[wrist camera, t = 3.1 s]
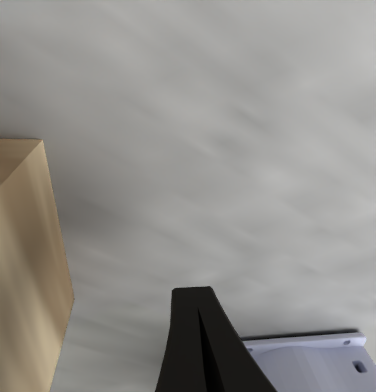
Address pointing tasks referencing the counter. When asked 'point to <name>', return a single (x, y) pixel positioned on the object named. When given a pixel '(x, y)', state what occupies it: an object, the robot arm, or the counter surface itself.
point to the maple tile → (30, 270)
